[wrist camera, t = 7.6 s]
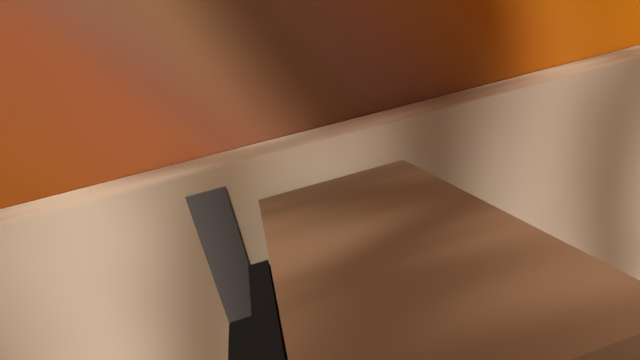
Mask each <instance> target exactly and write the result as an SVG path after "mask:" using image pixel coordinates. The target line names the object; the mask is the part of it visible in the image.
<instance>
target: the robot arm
mask: <svg viewBox="0 0 640 360" xmlns="http://www.w3.org/2000/svg"><path fill="white" fill-rule="evenodd" d="M248 272H249V287H250V302H251V316H249V317H246V318H242V319H239V320H236V321H233V322H230V324H229V342H228V360H288V357H287V352H286V347H285V341H284V336H283V330H282V325H281V319H280V314H279V309H278V303H277V298H276V292H275V287H274V282H273V276H272V271H271V265H270V264H269V261H268V260H265V261H262V262H258V263H255V264H252V265H248Z"/></svg>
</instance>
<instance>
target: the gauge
mask: <svg viewBox="0 0 640 360" xmlns="http://www.w3.org/2000/svg"><path fill="white" fill-rule="evenodd" d="M258 201H259V206H260V211H261V217H262V222H263V228H264V233H265V238H266V244H267V249H268V255H269V260H270V265H271V271H272V276H273V282H274V287H275V292H276V298H277V303H278V309H279V314H280V319H281V325H282V330H283V336H284V341H285V347H286V352H287V357H288V360H640V280H638V279H636V278H634V277H632V276H630V275H628V274H626V273H624V272H622V271H620V270H618V269H616V268H614V267H612V266H610V265H609V264H607V263H605V262H603V261H601V260H599V259H597V258H595V257H593V256H591V255H589V254H587V253H585V252H583V251H581V250H579V249H577V248H575V247H573V246H571V245H569V244H567V243H565V242H563V241H561V240H560V239H558V238H556V237H554V236H552V235H550V234H548V233H546V232H544V231H542V230H540V229H538V228H536V227H534V226H532V225H530V224H528V223H526V222H524V221H522V220H520V219H518V218H516V217H514V216H513V215H511V214H509V213H507V212H505V211H503V210H501V209H499V208H497V207H495V206H493V205H491V204H489V203H487V202H485V201H483V200H481V199H479V198H477V197H475V196H473V195H471V194H469V193H467V192H465V191H464V190H462V189H460V188H458V187H456V186H454V185H452V184H450V183H448V182H446V181H444V180H442V179H440V178H438V177H436V176H434V175H432V174H430V173H428V172H426V171H424V170H422V169H420V168H418V167H416V166H415V165H413V164H411V163H409V162H407V161H405V160H400V161H396V162H393V163H389V164H385V165H382V166H378V167H375V168H371V169H367V170H364V171H360V172H357V173H353V174H349V175H346V176H342V177H339V178H335V179H331V180H328V181H324V182H321V183H317V184H314V185H310V186H306V187H303V188H299V189H296V190H292V191H288V192H285V193H281V194H278V195H274V196H270V197H267V198H263V199H260V200H258Z"/></svg>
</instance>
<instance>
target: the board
mask: <svg viewBox="0 0 640 360" xmlns="http://www.w3.org/2000/svg"><path fill="white" fill-rule="evenodd" d="M400 160H405V161H407V162H409V163H411V164H413V165H415V166H416V167H418V168H420V169H422V170H424V171H426V172H428V173H430V174H432V175H434V176H436V177H438V178H440V179H442V180H444V181H446V182H448V183H450V184H452V185H454V186H456V187H458V188H460V189H462V190H464V191H465V192H467V193H469V194H471V195H473V196H475V197H477V198H479V199H481V200H483V201H485V202H487V203H489V204H491V205H493V206H495V207H497V208H499V209H501V210H503V211H505V212H507V213H509V214H511V215H513V216H514V217H516V218H518V219H520V220H522V221H524V222H526V223H528V224H530V225H532V226H534V227H536V228H538V229H540V230H542V231H544V232H546V233H548V234H550V235H552V236H554V237H556V238H558V239H560V240H561V241H563V242H565V243H567V244H569V245H571V246H573V247H575V248H577V249H579V250H581V251H583V252H585V253H587V254H589V255H591V256H593V257H595V258H597V259H599V260H601V261H603V262H605V263H607V264H609V265H610V266H612V267H614V268H616V269H618V270H620V271H622V272H624V273H626V274H628V275H630V276H632V277H634V278H636V279H638V280H640V45H638V46H634V47H630V48H627V49H623V50H619V51H615V52H611V53H607V54H603V55H599V56H595V57H592V58H588V59H584V60H580V61H576V62H572V63H568V64H564V65H560V66H556V67H553V68H549V69H545V70H541V71H537V72H533V73H529V74H525V75H521V76H518V77H514V78H510V79H506V80H502V81H498V82H494V83H490V84H486V85H483V86H479V87H475V88H471V89H467V90H463V91H459V92H455V93H451V94H447V95H444V96H440V97H436V98H432V99H428V100H424V101H420V102H416V103H412V104H409V105H405V106H401V107H397V108H393V109H389V110H385V111H381V112H377V113H374V114H370V115H366V116H362V117H358V118H354V119H350V120H346V121H342V122H338V123H335V124H331V125H327V126H323V127H319V128H315V129H311V130H307V131H303V132H300V133H296V134H292V135H288V136H284V137H280V138H276V139H272V140H268V141H265V142H261V143H257V144H253V145H249V146H245V147H241V148H237V149H233V150H229V151H226V152H222V153H218V154H214V155H210V156H206V157H202V158H198V159H194V160H191V161H187V162H183V163H179V164H175V165H171V166H167V167H163V168H159V169H156V170H152V171H148V172H144V173H140V174H136V175H132V176H128V177H124V178H120V179H117V180H113V181H109V182H105V183H101V184H97V185H93V186H89V187H85V188H82V189H78V190H74V191H70V192H66V193H62V194H58V195H54V196H50V197H47V198H43V199H39V200H35V201H31V202H27V203H23V204H19V205H15V206H11V207H8V208H4V209H0V360H228V342H229V324H230V322H233V321H236V320H239V319H242V318H246V317H249V316H251V302H250V287H249V272H248V265H252V264H255V263H258V262H262V261H265V260H268V261H269V264H270V260H269V255H268V249H267V244H266V238H265V233H264V228H263V222H262V217H261V211H260V206H259V201H258V200H260V199H263V198H267V197H270V196H274V195H278V194H281V193H285V192H288V191H292V190H296V189H299V188H303V187H306V186H310V185H314V184H317V183H321V182H324V181H328V180H331V179H335V178H339V177H342V176H346V175H349V174H353V173H357V172H360V171H364V170H367V169H371V168H375V167H378V166H382V165H385V164H389V163H393V162H396V161H400Z"/></svg>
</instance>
